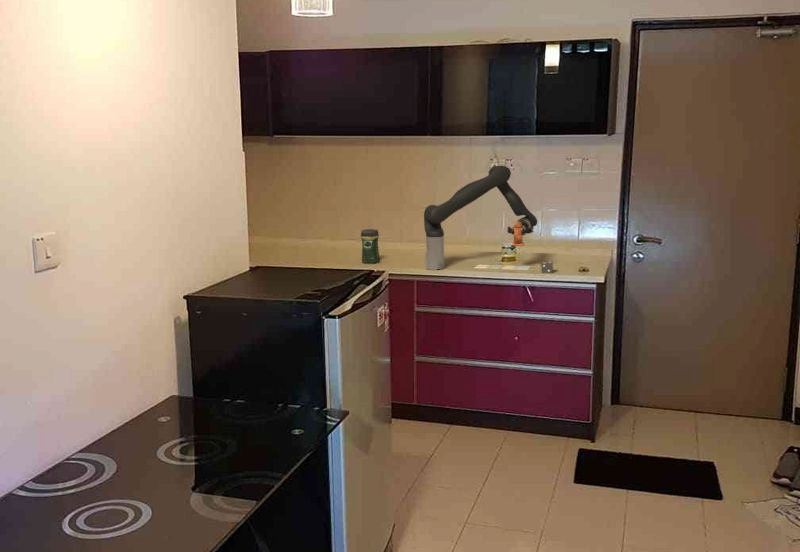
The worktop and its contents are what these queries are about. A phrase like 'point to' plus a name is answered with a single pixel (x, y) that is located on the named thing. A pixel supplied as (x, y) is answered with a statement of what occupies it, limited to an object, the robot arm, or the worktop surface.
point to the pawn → (518, 235)
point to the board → (503, 267)
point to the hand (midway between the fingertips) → (517, 232)
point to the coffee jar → (370, 246)
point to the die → (547, 267)
